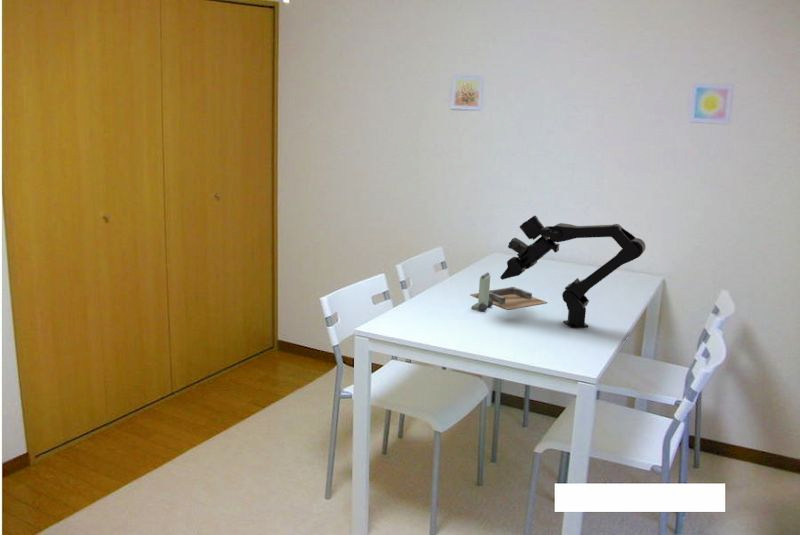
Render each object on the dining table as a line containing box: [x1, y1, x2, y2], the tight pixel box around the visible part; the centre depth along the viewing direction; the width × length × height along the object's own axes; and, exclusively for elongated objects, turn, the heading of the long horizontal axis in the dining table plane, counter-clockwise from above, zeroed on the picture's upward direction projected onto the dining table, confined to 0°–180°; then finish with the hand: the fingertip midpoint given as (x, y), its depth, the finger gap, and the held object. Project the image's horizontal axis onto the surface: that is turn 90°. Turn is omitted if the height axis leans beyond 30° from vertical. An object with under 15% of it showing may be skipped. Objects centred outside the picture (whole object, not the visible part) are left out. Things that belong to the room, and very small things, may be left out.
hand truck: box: [471, 272, 494, 313], centre depth 251 cm, size 6×7×13 cm
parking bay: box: [470, 286, 548, 311], centre depth 265 cm, size 22×20×3 cm
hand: (505, 275), depth 245 cm, fingers open, 9 cm apart
